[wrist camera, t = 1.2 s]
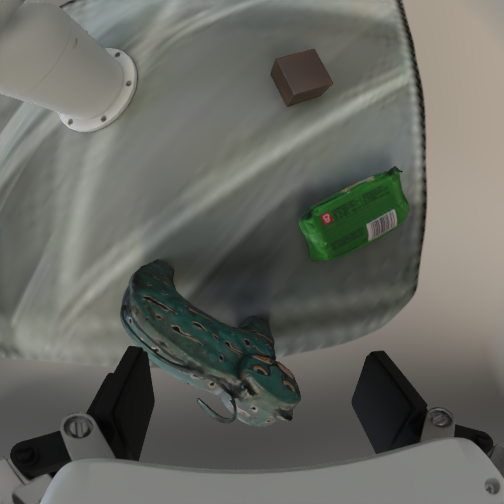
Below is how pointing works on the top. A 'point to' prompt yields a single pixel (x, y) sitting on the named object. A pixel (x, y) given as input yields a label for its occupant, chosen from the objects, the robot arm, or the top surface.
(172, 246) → the top surface
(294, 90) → the walnut block
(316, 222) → the snack package
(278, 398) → the ceramic cat
